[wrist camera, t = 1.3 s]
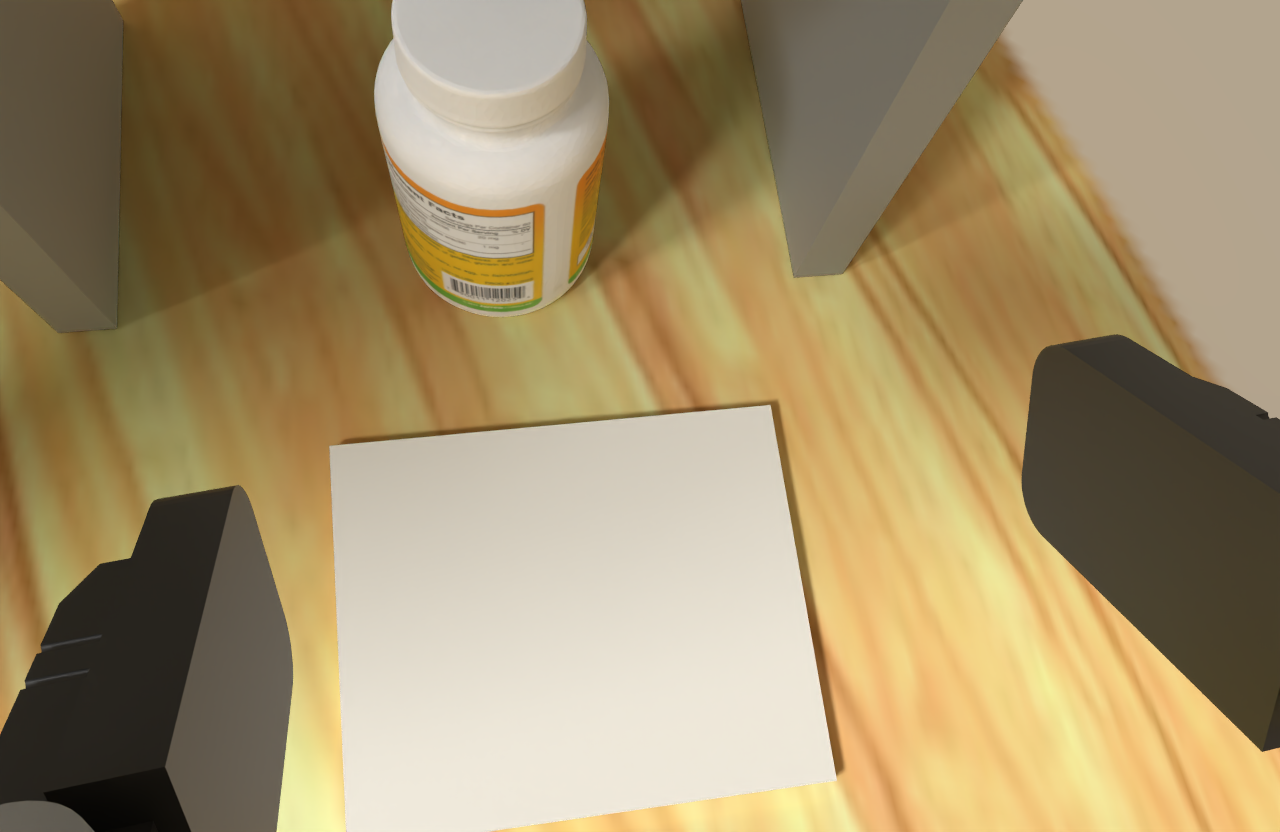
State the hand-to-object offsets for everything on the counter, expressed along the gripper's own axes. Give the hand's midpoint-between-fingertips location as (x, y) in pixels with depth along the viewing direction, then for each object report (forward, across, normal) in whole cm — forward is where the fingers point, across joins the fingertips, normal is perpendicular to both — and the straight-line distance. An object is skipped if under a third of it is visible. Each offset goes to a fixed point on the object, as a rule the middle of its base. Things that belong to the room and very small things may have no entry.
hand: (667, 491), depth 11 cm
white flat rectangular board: (+13, 0, +12) cm, 17 cm away
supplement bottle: (+21, 0, +4) cm, 21 cm away
